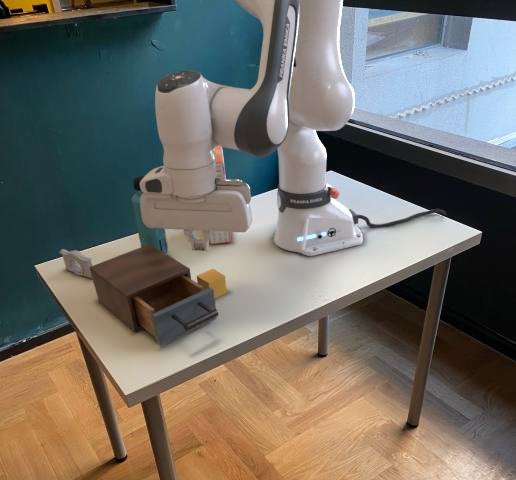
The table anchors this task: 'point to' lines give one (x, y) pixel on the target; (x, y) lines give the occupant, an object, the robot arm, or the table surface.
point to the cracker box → (220, 169)
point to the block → (213, 281)
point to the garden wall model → (82, 261)
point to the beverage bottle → (146, 234)
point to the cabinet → (133, 279)
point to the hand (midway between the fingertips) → (200, 249)
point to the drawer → (174, 308)
